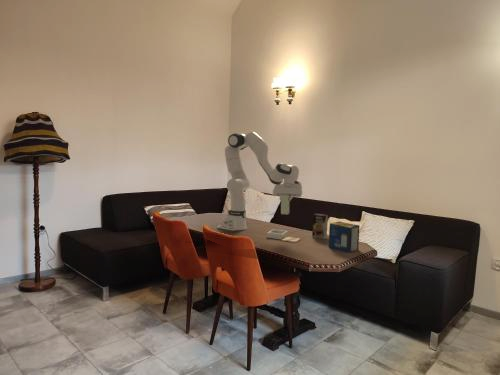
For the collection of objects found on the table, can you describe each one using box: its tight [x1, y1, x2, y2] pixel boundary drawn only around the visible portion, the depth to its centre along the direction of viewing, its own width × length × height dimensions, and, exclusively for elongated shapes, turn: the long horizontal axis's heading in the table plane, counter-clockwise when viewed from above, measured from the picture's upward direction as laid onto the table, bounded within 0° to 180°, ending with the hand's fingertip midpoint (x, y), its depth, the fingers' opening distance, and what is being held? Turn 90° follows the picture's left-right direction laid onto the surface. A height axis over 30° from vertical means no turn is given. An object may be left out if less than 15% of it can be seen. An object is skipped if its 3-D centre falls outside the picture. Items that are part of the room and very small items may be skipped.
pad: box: [281, 236, 301, 244], centre depth 245 cm, size 10×10×1 cm
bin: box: [266, 228, 289, 240], centre depth 254 cm, size 11×12×4 cm
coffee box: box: [311, 213, 329, 239], centre depth 256 cm, size 9×6×16 cm
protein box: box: [328, 221, 360, 253], centre depth 227 cm, size 10×15×16 cm
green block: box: [280, 194, 290, 215], centre depth 248 cm, size 4×4×13 cm
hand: (285, 200), depth 247 cm, fingers closed on green block, 4 cm apart
